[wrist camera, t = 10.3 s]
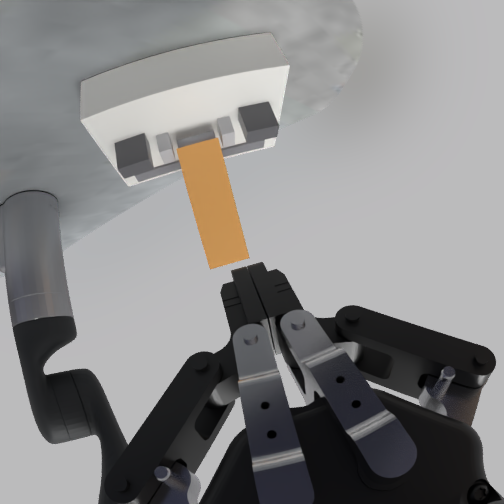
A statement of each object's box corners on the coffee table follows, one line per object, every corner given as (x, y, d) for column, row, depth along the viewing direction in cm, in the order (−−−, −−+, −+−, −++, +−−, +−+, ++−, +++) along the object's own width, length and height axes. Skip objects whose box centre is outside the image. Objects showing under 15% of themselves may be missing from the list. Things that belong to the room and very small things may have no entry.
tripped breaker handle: (175, 141, 30) (209, 262, 34) (173, 139, 28) (210, 269, 31) (214, 131, 30) (245, 251, 34) (215, 128, 28) (249, 257, 32)
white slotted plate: (123, 152, 36) (132, 209, 35) (81, 81, 23) (81, 148, 21) (261, 115, 38) (282, 167, 37) (270, 32, 25) (303, 89, 23)
